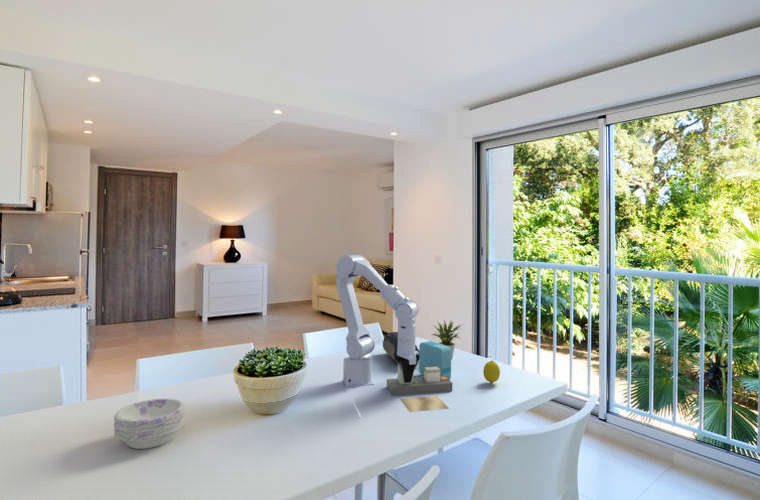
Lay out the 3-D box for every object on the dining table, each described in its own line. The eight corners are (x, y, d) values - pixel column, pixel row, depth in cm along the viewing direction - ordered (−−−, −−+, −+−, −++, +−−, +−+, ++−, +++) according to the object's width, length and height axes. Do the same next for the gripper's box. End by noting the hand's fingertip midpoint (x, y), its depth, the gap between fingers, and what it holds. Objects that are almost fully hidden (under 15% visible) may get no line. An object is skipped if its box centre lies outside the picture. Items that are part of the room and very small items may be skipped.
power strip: (392, 396, 136) (392, 385, 136) (386, 388, 143) (386, 377, 143) (452, 392, 140) (452, 381, 140) (443, 383, 148) (443, 373, 148)
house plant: (464, 365, 169) (464, 324, 168) (428, 363, 172) (429, 322, 171) (464, 356, 183) (465, 317, 182) (431, 353, 186) (432, 316, 185)
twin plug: (427, 391, 141) (427, 370, 141) (424, 388, 144) (424, 367, 144) (440, 390, 142) (440, 369, 142) (436, 387, 145) (437, 366, 145)
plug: (400, 387, 139) (400, 366, 139) (397, 384, 142) (397, 363, 141) (413, 386, 140) (413, 365, 140) (410, 383, 143) (410, 362, 142)
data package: (451, 381, 151) (451, 347, 151) (441, 383, 149) (442, 348, 148) (427, 372, 161) (428, 340, 161) (418, 374, 158) (419, 341, 158)
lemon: (498, 381, 151) (498, 358, 151) (501, 386, 146) (501, 363, 146) (482, 380, 152) (482, 357, 152) (484, 385, 146) (484, 362, 146)
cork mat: (409, 413, 123) (409, 411, 123) (400, 400, 133) (400, 398, 133) (449, 409, 126) (449, 408, 126) (436, 397, 136) (436, 395, 136)
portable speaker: (380, 353, 186) (380, 330, 186) (402, 352, 189) (402, 329, 188) (397, 371, 162) (397, 344, 161) (422, 369, 164) (422, 343, 164)
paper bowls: (167, 421, 117) (167, 392, 116) (196, 438, 107) (196, 407, 107) (104, 442, 105) (104, 409, 105) (129, 463, 95) (129, 427, 95)
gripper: (425, 343, 134) (425, 386, 135) (411, 333, 148) (411, 372, 149) (403, 344, 132) (403, 388, 133) (391, 334, 147) (391, 373, 147)
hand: (406, 380), depth 141 cm, fingers closed on plug, 3 cm apart
